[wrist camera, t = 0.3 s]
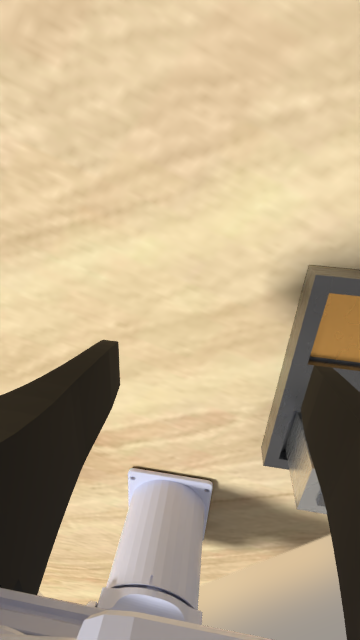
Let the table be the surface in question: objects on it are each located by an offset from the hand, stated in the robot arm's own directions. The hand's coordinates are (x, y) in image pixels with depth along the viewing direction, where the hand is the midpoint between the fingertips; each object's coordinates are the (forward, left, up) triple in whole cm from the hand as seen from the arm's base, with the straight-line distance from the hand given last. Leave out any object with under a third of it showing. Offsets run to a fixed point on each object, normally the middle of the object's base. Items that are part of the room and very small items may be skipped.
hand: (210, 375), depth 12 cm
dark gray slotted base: (-6, -9, -10) cm, 15 cm away
